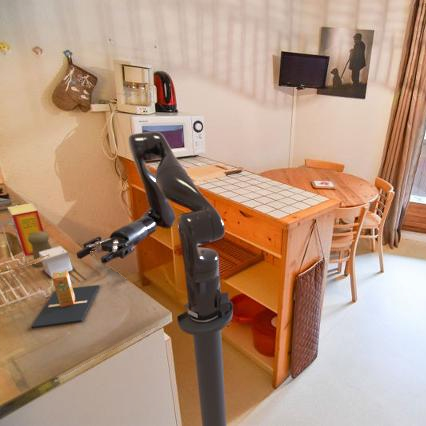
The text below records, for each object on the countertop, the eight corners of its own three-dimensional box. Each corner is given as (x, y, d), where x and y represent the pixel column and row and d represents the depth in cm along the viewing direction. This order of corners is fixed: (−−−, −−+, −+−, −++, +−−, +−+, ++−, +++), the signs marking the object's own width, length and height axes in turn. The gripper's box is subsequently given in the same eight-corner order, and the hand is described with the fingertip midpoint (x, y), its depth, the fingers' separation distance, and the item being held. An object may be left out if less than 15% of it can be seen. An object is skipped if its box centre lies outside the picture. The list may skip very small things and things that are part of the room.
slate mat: (99, 286, 99) (98, 284, 99) (81, 321, 86) (81, 319, 85) (56, 291, 96) (56, 289, 96) (31, 328, 82) (30, 326, 82)
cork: (30, 267, 106) (20, 237, 102) (40, 257, 111) (31, 229, 107) (51, 265, 107) (43, 237, 103) (60, 256, 113) (52, 228, 108)
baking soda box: (20, 246, 117) (6, 206, 111) (42, 240, 122) (31, 201, 115) (25, 255, 111) (11, 214, 105) (48, 249, 116) (37, 209, 110)
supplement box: (59, 308, 88) (50, 278, 85) (61, 301, 91) (53, 271, 87) (74, 305, 90) (66, 275, 86) (76, 298, 93) (68, 269, 89)
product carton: (65, 263, 109) (60, 245, 106) (73, 270, 106) (68, 251, 103) (43, 271, 104) (37, 251, 101) (50, 278, 101) (44, 258, 98)
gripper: (110, 222, 110) (67, 243, 95) (146, 229, 108) (108, 251, 93) (114, 241, 113) (72, 265, 98) (149, 248, 111) (112, 273, 96)
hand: (90, 258), depth 96 cm, fingers open, 8 cm apart
